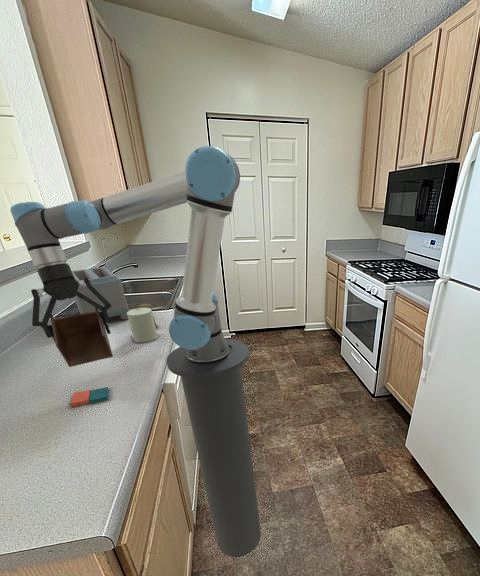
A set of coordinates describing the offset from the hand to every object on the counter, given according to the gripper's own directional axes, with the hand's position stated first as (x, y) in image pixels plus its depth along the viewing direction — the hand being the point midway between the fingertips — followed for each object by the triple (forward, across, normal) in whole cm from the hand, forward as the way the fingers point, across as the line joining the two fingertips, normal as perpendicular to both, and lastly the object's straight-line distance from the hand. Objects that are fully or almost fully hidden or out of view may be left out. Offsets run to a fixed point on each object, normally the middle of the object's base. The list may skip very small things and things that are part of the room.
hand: (85, 340), depth 97 cm
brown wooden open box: (+3, 0, -4) cm, 5 cm away
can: (+10, -20, -33) cm, 40 cm away
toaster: (-1, -10, -77) cm, 77 cm away
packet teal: (+15, +2, +4) cm, 16 cm away
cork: (+8, -24, -43) cm, 50 cm away
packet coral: (+15, +7, +3) cm, 16 cm away
